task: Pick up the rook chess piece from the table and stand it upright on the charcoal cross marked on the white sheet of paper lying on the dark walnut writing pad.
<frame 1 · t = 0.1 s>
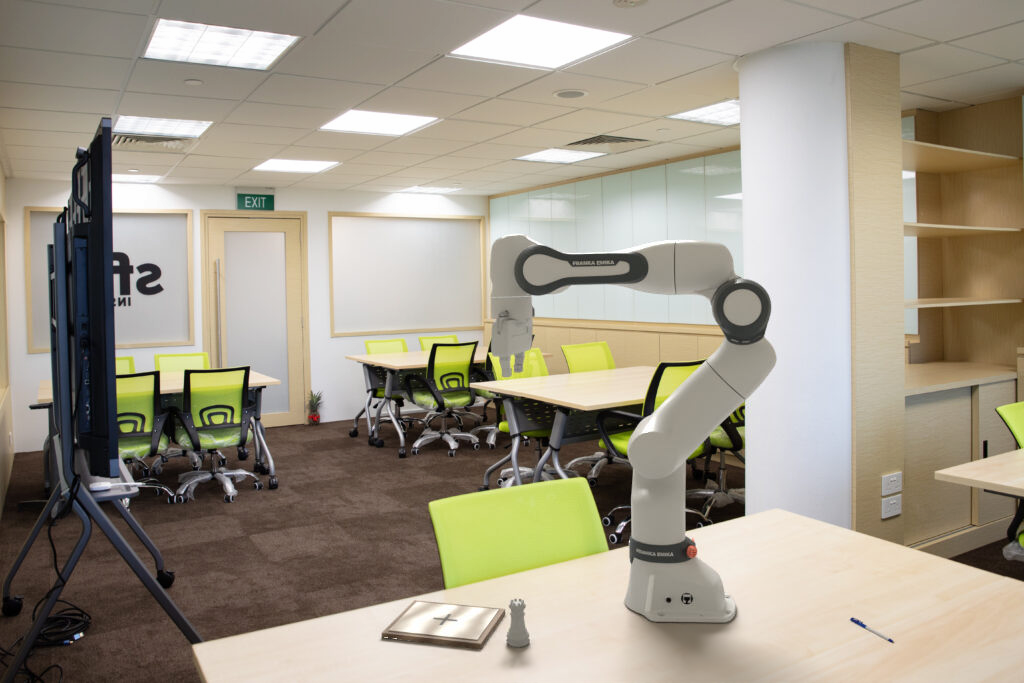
hand: (512, 374, 164), 48 cm above the table, tool pointing down, fingers open, 8 cm apart
rook chess piece: (518, 643, 142), on the table
ballpoint pen: (871, 633, 144), on the table
writing pad: (445, 625, 150), on the table
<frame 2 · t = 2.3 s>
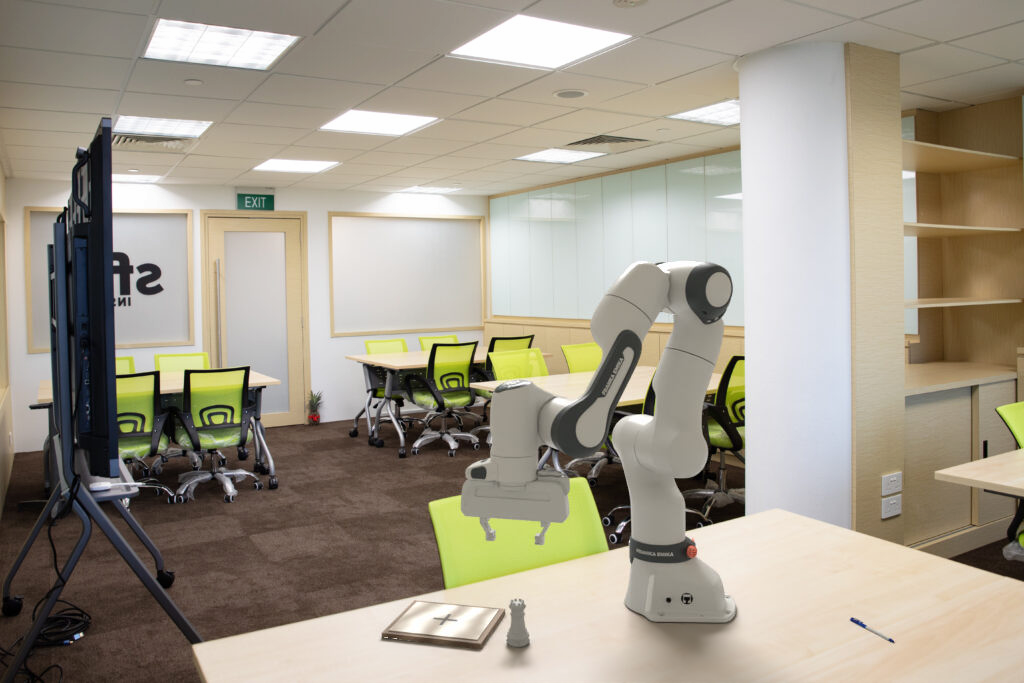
hand: (515, 542, 141), 19 cm above the table, tool pointing down, fingers open, 8 cm apart
nothing on the table moved.
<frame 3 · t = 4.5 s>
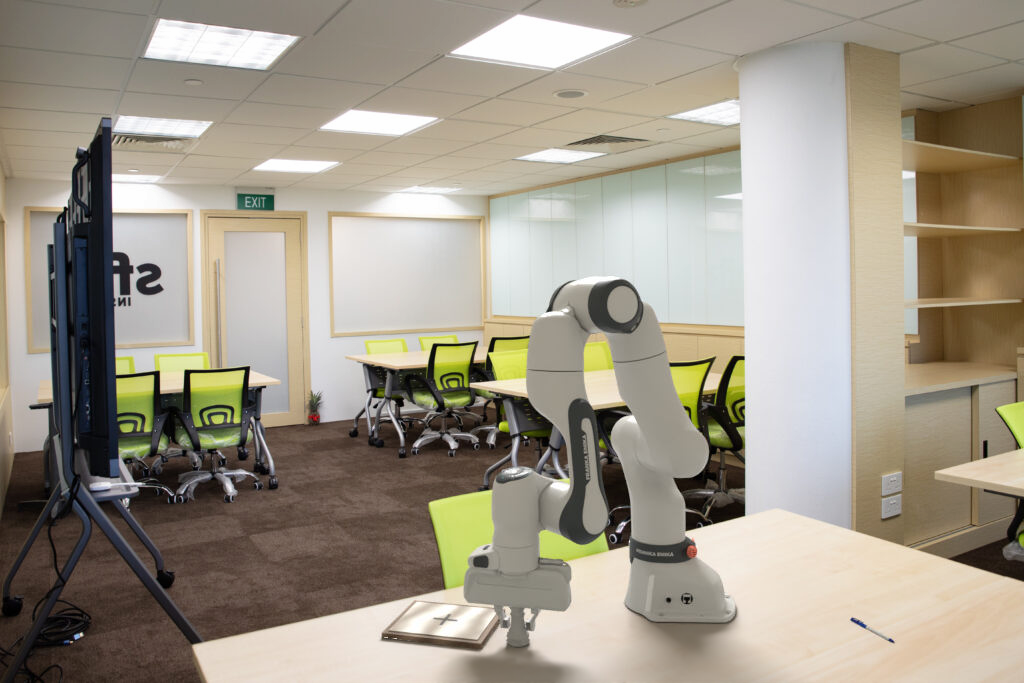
hand: (517, 628, 142), 3 cm above the table, tool pointing down, fingers closed on rook chess piece, 3 cm apart
rook chess piece: (518, 643, 142), on the table, touching gripper
everything else where it was.
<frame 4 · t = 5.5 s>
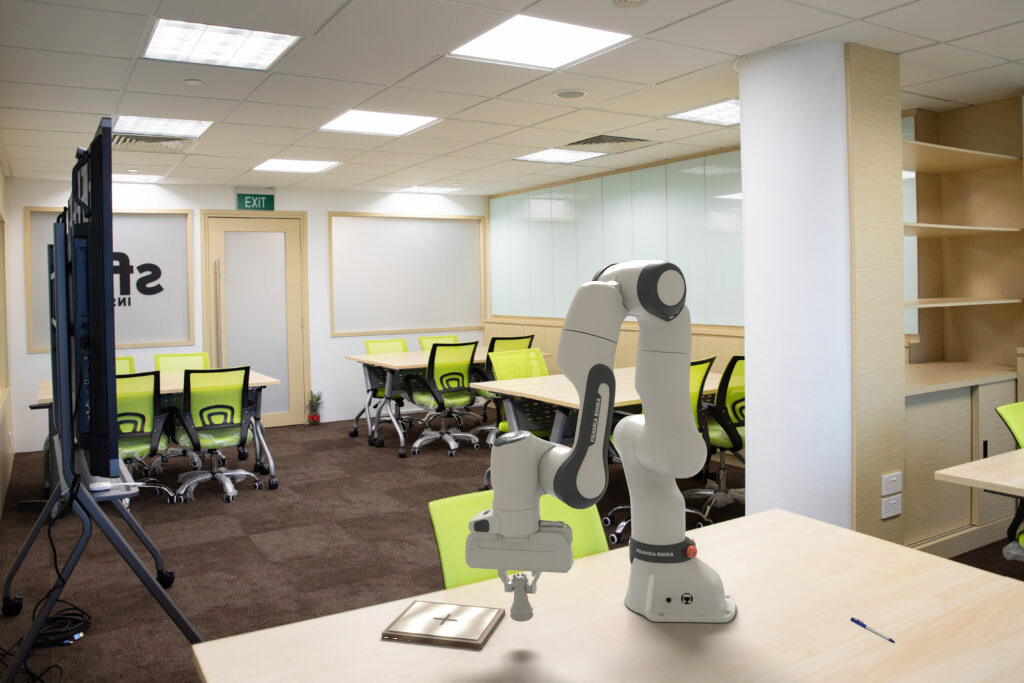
hand: (520, 591, 142), 10 cm above the table, tool pointing down, fingers closed on rook chess piece, 3 cm apart
rook chess piece: (521, 618, 142), point 4 cm above the table, touching gripper
everything else where it was.
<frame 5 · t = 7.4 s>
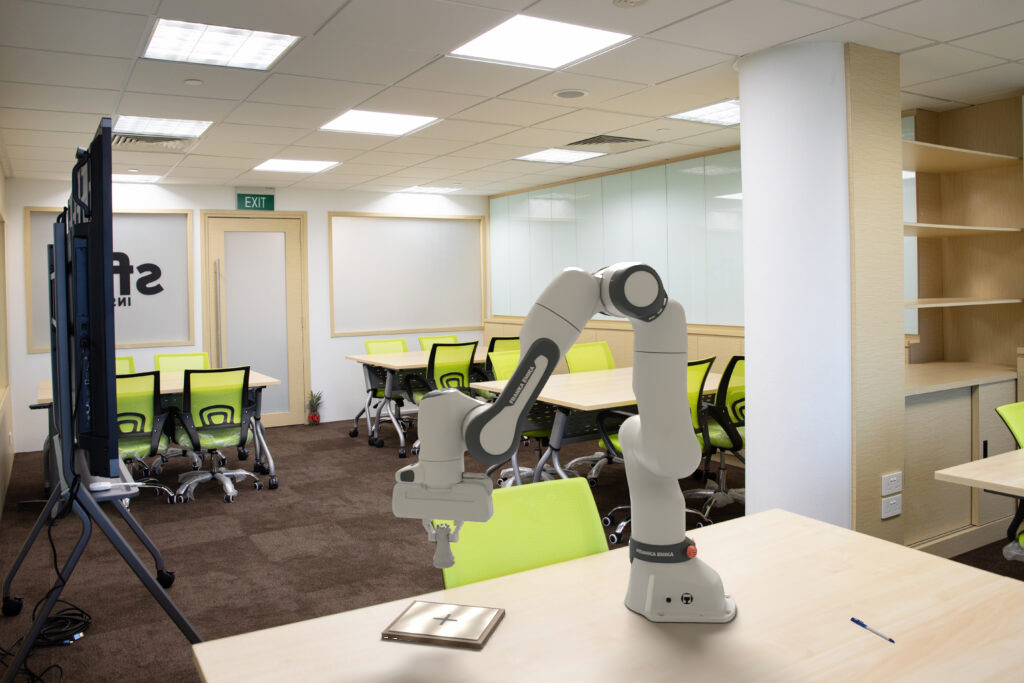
hand: (443, 541, 149), 17 cm above the table, tool pointing down, fingers closed on rook chess piece, 3 cm apart
rook chess piece: (444, 566, 150), point 12 cm above the table, touching gripper
everything else where it was.
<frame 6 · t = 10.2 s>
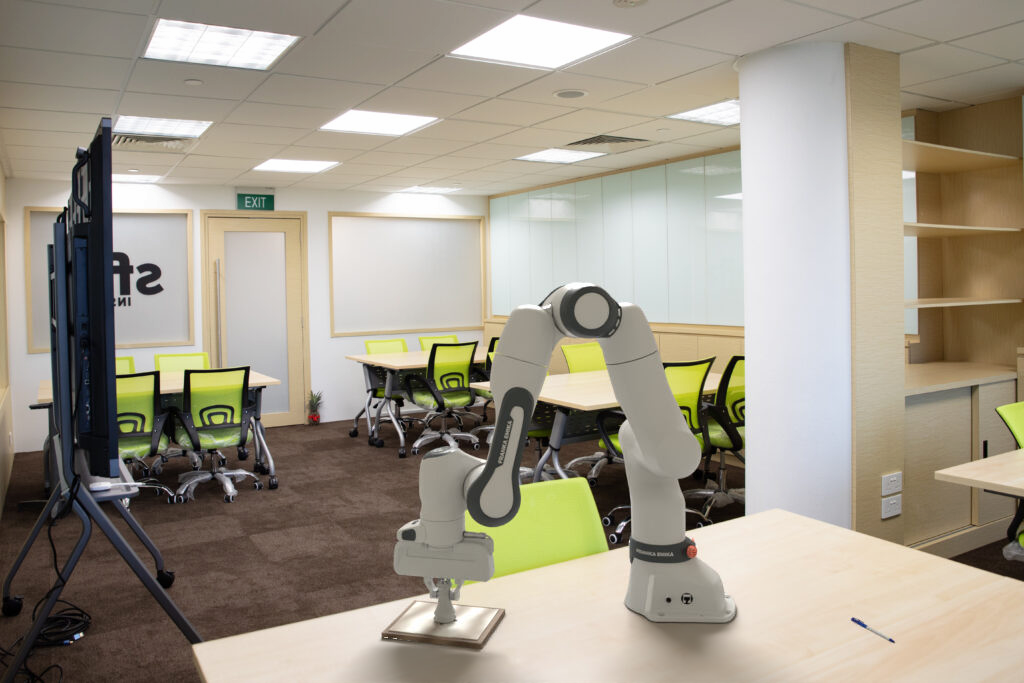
hand: (444, 598, 150), 5 cm above the table, tool pointing down, fingers closed on rook chess piece, 3 cm apart
rook chess piece: (445, 620, 150), point 1 cm above the table, touching gripper, writing pad
everything else where it was.
when the fingers open (5 cm above the table, at t = 10.2 s): rook chess piece stays where it is, resting on writing pad.
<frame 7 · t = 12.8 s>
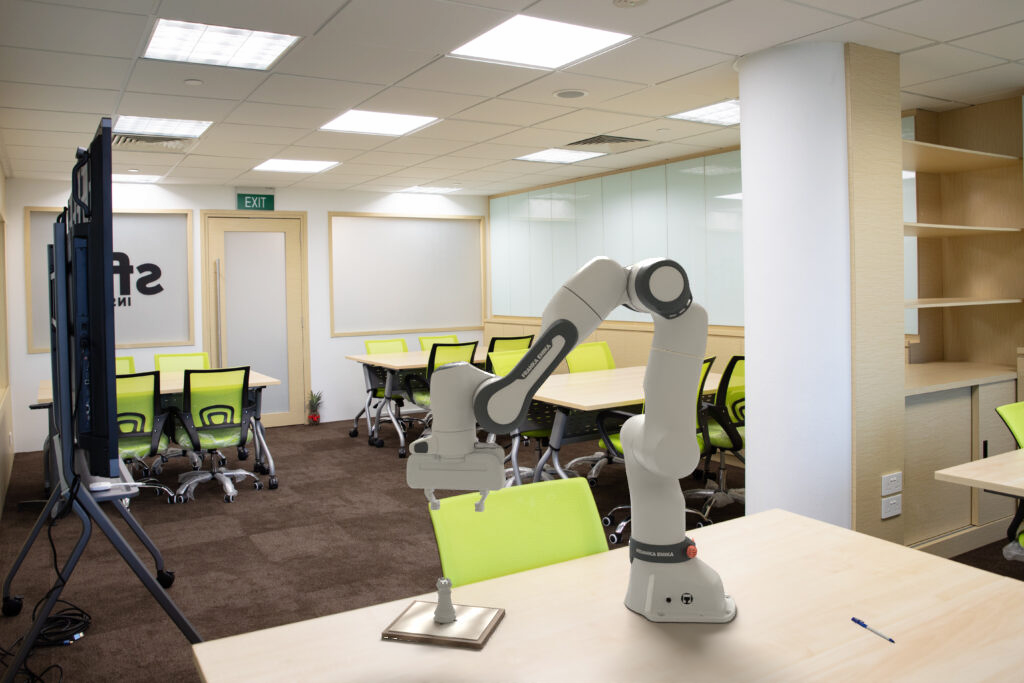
hand: (457, 510, 153), 22 cm above the table, tool pointing down, fingers open, 8 cm apart
rook chess piece: (445, 620, 150), point 1 cm above the table, touching writing pad
everything else where it was.
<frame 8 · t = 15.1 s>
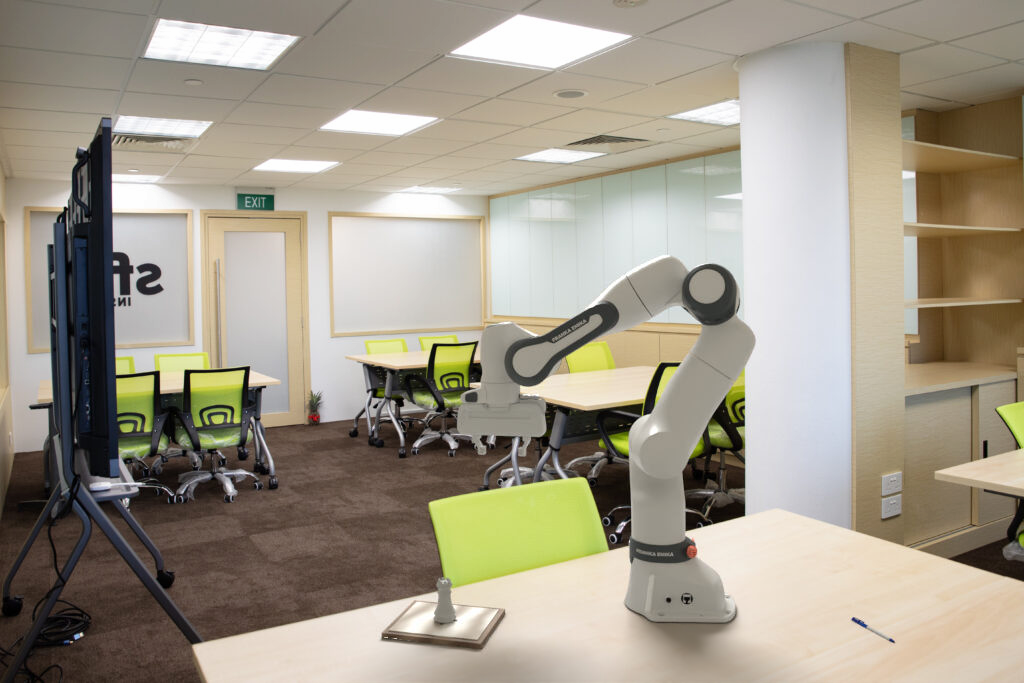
hand: (502, 455, 171), 29 cm above the table, tool pointing down, fingers open, 8 cm apart
nothing on the table moved.
at the end: rook chess piece inside the target area on the writing pad (0.1 cm from its centre), point 1.1 cm above the writing pad's base; rook chess piece tilted 0°; the gripper is holding nothing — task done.
